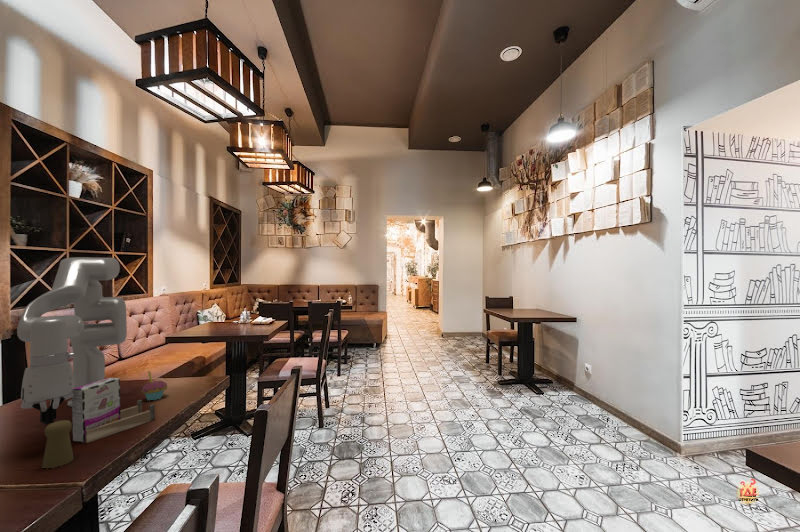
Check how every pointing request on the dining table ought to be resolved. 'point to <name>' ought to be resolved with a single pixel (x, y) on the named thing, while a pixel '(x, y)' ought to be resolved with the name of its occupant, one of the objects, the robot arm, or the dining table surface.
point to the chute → (122, 422)
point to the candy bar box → (95, 406)
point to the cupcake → (154, 389)
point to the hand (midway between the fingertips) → (48, 423)
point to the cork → (58, 444)
